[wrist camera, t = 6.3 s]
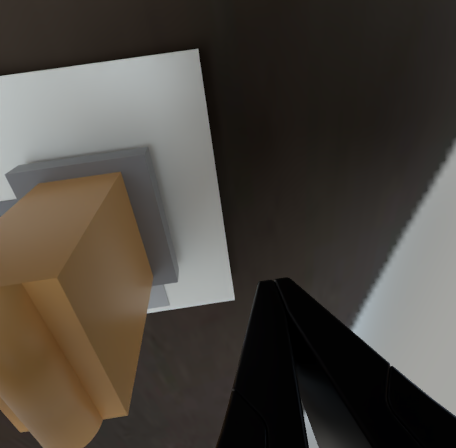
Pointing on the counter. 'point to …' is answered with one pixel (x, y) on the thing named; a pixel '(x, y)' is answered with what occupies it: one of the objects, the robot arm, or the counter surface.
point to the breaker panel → (130, 139)
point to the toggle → (78, 290)
